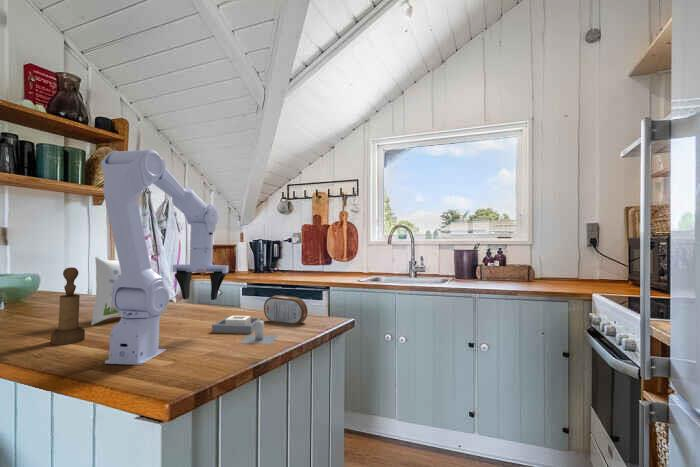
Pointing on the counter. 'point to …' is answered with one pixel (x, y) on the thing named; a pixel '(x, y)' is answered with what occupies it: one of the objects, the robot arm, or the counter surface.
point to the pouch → (105, 289)
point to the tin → (285, 309)
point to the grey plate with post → (259, 335)
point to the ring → (238, 320)
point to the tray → (234, 327)
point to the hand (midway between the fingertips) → (199, 299)
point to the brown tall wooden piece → (68, 313)
